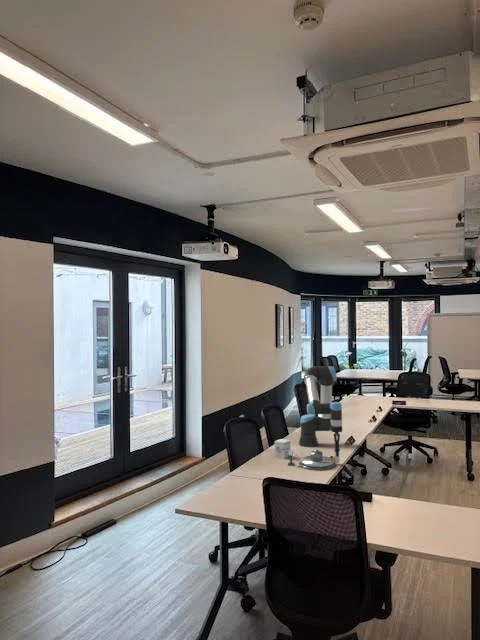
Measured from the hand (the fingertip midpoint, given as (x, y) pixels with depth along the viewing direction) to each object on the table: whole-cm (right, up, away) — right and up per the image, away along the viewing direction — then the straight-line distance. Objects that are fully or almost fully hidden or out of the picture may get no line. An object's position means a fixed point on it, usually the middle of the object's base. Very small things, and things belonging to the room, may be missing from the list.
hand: (337, 460), depth 318 cm
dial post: (-30, -3, +2) cm, 30 cm away
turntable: (-12, -2, +1) cm, 12 cm away
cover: (-14, 0, +2) cm, 14 cm away
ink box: (-35, -4, +23) cm, 42 cm away
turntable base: (-14, -3, +1) cm, 14 cm away
